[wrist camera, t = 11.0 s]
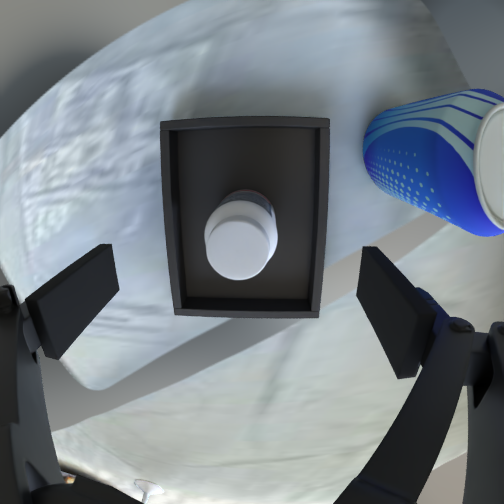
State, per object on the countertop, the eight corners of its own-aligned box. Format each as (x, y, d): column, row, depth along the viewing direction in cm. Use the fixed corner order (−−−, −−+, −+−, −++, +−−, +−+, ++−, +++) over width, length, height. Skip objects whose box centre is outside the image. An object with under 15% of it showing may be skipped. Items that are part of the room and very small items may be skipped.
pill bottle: (208, 199, 27) (182, 223, 18) (264, 181, 26) (263, 196, 18) (228, 253, 28) (213, 297, 20) (282, 236, 28) (289, 276, 19)
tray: (170, 124, 25) (159, 121, 22) (323, 121, 25) (329, 118, 22) (182, 300, 31) (174, 315, 28) (314, 303, 30) (318, 318, 27)
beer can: (448, 151, 24) (569, 170, 9) (403, 213, 27) (510, 279, 12) (390, 91, 23) (502, 52, 8) (340, 156, 25) (430, 169, 10)
